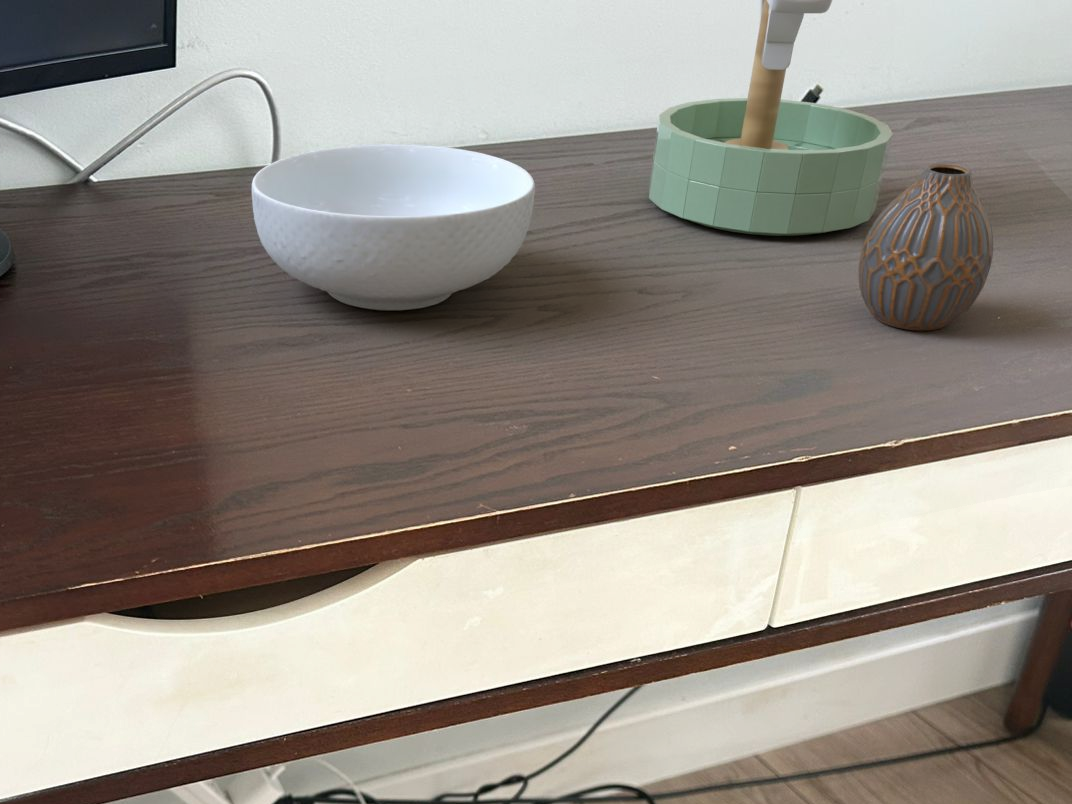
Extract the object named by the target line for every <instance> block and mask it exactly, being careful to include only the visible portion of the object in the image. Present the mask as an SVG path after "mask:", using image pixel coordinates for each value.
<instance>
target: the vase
mask: <svg viewBox="0 0 1072 804" xmlns="http://www.w3.org/2000/svg"><path fill="white" fill-rule="evenodd" d="M993 257H994V232H993V227H992V224H991V221H990V218H989V215H988V213H987V211H986V209H985V208H984V206H983V203H982V202H981V200H980V198H979V196H978V194H977V192H976V189H975V186H974V181H973V174H972V171H971V170H970V169H969V168H966V167H965V166H962V165H961V166H960V165H956V164H948V163H933V164H929V165H927V166H925V167H924V168H923V169H922V170H921V172H920V174H919V175H918V177H917V178H916V179H915V180H914V181H913V183H912V184H910V185H909V186H908V187H907V188H906V189H905V190H903V191H902V192H901V193H900V194H899V195H897V196H896V197H895V198H894V199H892V200H891V202H890V203H889V204H887V205H886V206H885V207H884V208H883V210H881V212H880V213H879V214H878V216H877V217H876V219H875V220H874V222H873V224H872V225H871V227H870V229H869V230H868V232H867V235H866V237H865V239H864V242H863V244H862V249H861V252H860V257H859V263H858V285H859V291H860V295H861V298H862V300H863V302H864V304H865V306H866V308H867V309H868V310H869V312H870V313H871V314H872V316H873V317H874V318H875V319H876V320H878V321H879V322H881V323H882V324H885V325H887V326H889V327H893V328H897V329H902V330H908V331H916V332H917V331H921V332H922V331H925V332H926V331H935V330H939V329H942V328H944V327H946V326H948V325H950V324H951V323H953V322H955V321H956V320H958V319H959V318H960V317H962V316H963V315H964V314H965V313H966V312H968V310H969V309H970V308H971V307H972V306H973V304H974V303H975V302H976V300H977V298H978V297H979V295H980V294H981V292H982V290H983V288H984V286H985V284H986V281H987V279H988V276H989V273H990V271H991V266H992V262H993Z"/></svg>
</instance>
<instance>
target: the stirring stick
mask: <svg viewBox="0 0 1072 804" xmlns="http://www.w3.org/2000/svg"><path fill="white" fill-rule="evenodd" d="M768 11H769V4H768V2H767V0H764V4H763V10H762V16H761V22H760V21H759V27H758V35H757V40H756V47H755V52H754V58H753V63H752V69H751V74H750V75H751V76H750V82H749V87H748V93H747V98H748V99H747V104H746V110H745V116H744V122H743V128H742V134H741V138H738V139H732V140H728V141H726V142H725V143H727V144H733V145H741V146H749V147H757V148H765V149H783V150H788V147H787V146H786V145H785V144H783V143H780V142H777V141H773V139H774V133H775V128H776V122H777V117H778V111H779V106H780V100H781V99H782V95H783V89H784V83H785V78H786V72H787V68H786V69H784V70H767V69H765V68H764V67H763V65H762V61H761V55H762V50H763V43H764V38H765V37H766V31H767V24H768V17H769V14H768Z"/></svg>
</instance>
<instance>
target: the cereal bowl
mask: <svg viewBox="0 0 1072 804" xmlns="http://www.w3.org/2000/svg"><path fill="white" fill-rule="evenodd" d="M535 183H536V182H535V180H534V178H533V176H532V175H531V174H530V173H529V171H527V170H526V169H524V168H523V167H522V166H520V165H518V164H516V163H514V162H511V161H509V160H506V159H504V158H500V157H497V156H494V155H489V154H486V153H482V152H479V151H478V152H477V151H474V150H473V151H472V150H468V149H462V148H456V147H455V148H454V147H447V146H446V147H445V146H439V145H436V146H435V145H425V144H403V143H402V144H401V143H400V144H399V143H382V144H379V143H378V144H361V145H359V144H358V145H348V146H338V147H337V146H336V147H329V148H321V149H317V150H311V151H306V152H302V153H297V154H294V155H290V156H287V157H284V158H280V159H278V160H275V161H273V162H271V163H269V164H268V165H266V166H264V167H263V168H261V169H260V170H259V171H258V172H256V174H255V175H254V177H253V179H252V181H251V200H252V201H251V203H252V204H251V205H252V212H253V220H254V224H255V229H256V231H257V235H258V238H259V240H260V244H261V245H262V247H263V248H264V250H265V251H266V253H267V254H268V256H269V257H270V258H271V260H272V261H273V262H274V263H276V265H277V266H278V267H279V268H280V269H282V270H283V271H284V272H285V273H287V274H288V275H289V276H290V277H292V278H294V279H296V280H298V281H299V282H301V283H304V284H306V285H307V286H311V287H313V288H314V289H319V290H321V291H324V292H326V293H327V294H328V295H329V296H331V297H332V298H333V299H335V300H336V301H338V302H341V303H342V304H345V305H348V306H351V307H356V308H361V309H366V310H373V311H375V310H376V311H408V310H418V309H424V308H428V307H431V306H435V305H437V304H440V303H442V302H444V301H446V300H447V299H448V298H449V297H450V296H452V294H453V293H456V292H458V291H462V290H466V289H468V288H471V287H473V286H475V285H478V284H480V283H483V282H484V281H486V280H489V279H490V278H491V277H492V276H495V275H496V274H498V272H499V271H501V270H503V269H504V268H505V266H506V265H508V264H509V263H510V262H511V261H512V259H513V258H514V257H515V256H516V255H517V254H518V252H519V250H520V248H521V247H522V246H523V245H524V241H525V239H526V237H527V233H528V230H529V227H530V225H531V223H532V222H531V219H532V217H533V212H534V210H533V209H534V203H535V193H536V184H535Z"/></svg>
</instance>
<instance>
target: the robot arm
mask: <svg viewBox="0 0 1072 804" xmlns="http://www.w3.org/2000/svg"><path fill="white" fill-rule="evenodd" d="M767 2H768V4H769V11H768V14H769V17H768V24H767V31H766V37H765V38H764V43H763V50H762V55H761V61H762V65H763V67H764V68H765V69H767V70H784V69H786V70H787V69H788V68H789V67H790V65H791V61H792V55H793V52H794V46H795V42H796V39H797V37H798V34H799V31H800V28H801V25H802V22H803V20H804V15H805V14H825V13H827V12H828V11H829V9H830V7H831V5H832V2H833V0H767ZM759 4H760V5H759V6H760V7H759V23H760V22H761V16H762V10H763V4H764V0H760V3H759Z"/></svg>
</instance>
